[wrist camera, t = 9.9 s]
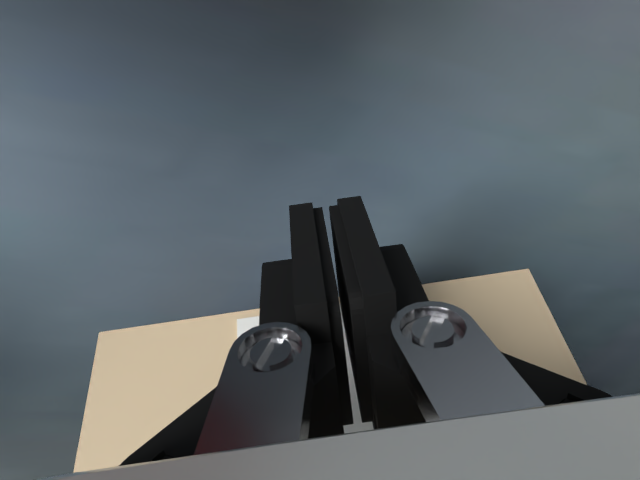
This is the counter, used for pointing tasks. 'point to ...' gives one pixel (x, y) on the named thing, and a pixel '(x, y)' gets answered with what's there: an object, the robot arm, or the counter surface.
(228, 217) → the counter surface
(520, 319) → the panel
